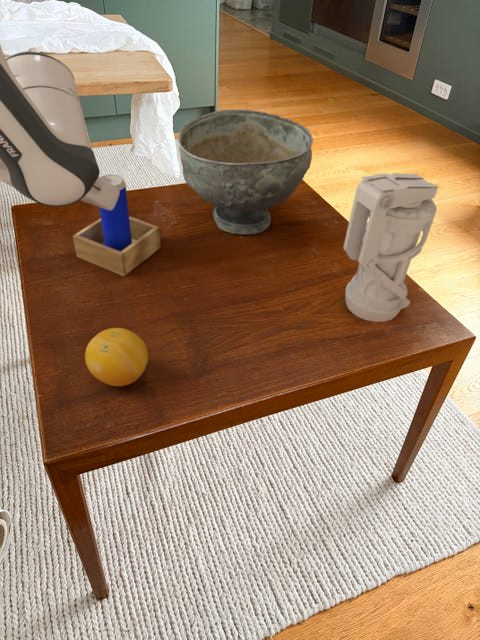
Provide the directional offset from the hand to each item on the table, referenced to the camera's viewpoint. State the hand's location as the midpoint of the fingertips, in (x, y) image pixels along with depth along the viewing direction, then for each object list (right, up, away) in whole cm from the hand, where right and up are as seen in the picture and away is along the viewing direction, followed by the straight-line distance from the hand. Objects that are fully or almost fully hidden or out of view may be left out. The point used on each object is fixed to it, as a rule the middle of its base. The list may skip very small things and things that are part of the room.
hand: (88, 196), depth 84 cm
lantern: (+49, -19, +6) cm, 52 cm away
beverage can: (+2, -7, +14) cm, 16 cm away
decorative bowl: (+26, +1, +26) cm, 37 cm away
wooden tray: (+2, -8, +14) cm, 16 cm away
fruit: (+8, -29, -10) cm, 32 cm away
